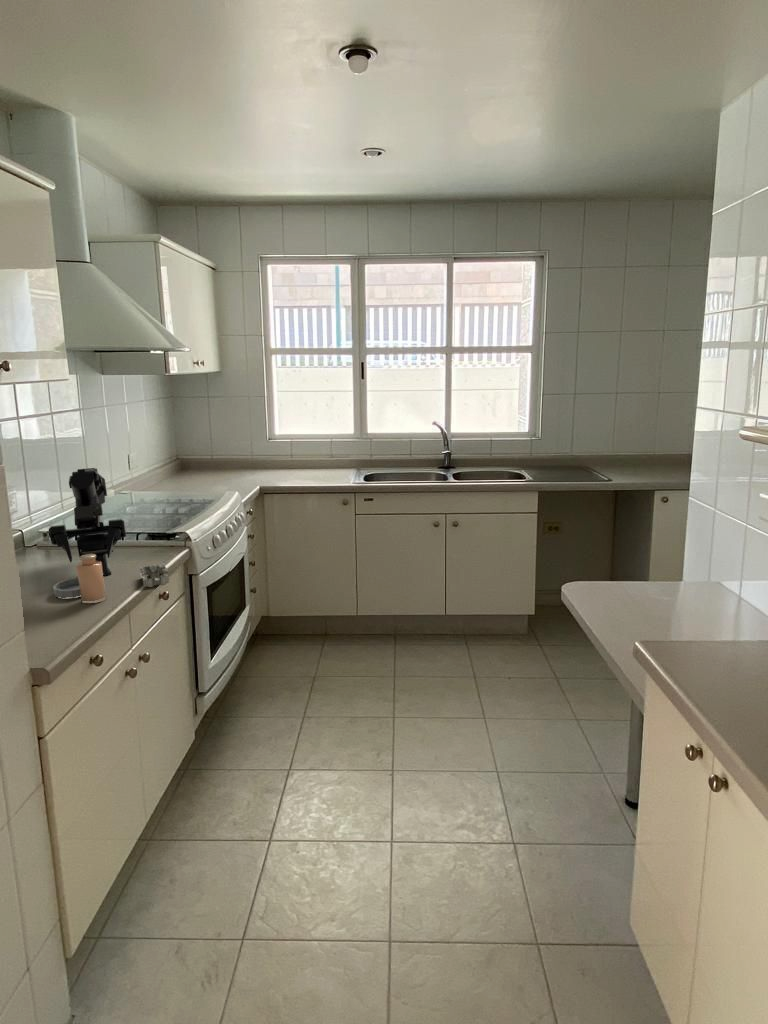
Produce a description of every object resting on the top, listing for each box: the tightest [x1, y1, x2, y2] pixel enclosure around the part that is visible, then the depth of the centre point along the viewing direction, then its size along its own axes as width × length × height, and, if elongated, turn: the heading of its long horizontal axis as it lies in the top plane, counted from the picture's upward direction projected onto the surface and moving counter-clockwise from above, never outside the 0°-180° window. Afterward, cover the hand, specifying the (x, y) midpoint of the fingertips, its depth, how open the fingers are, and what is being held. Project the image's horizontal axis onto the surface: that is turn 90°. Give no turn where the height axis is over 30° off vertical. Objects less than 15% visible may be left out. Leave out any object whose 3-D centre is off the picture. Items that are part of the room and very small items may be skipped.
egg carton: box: [139, 564, 170, 588], centre depth 191 cm, size 11×8×4 cm
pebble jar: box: [76, 554, 107, 602], centre depth 176 cm, size 6×6×12 cm
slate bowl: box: [52, 576, 81, 598], centre depth 183 cm, size 10×10×2 cm
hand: (89, 559), depth 178 cm, fingers open, 9 cm apart
